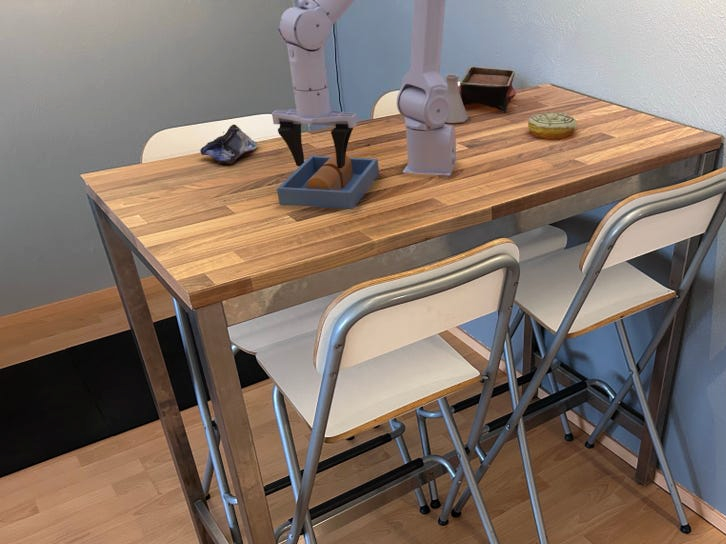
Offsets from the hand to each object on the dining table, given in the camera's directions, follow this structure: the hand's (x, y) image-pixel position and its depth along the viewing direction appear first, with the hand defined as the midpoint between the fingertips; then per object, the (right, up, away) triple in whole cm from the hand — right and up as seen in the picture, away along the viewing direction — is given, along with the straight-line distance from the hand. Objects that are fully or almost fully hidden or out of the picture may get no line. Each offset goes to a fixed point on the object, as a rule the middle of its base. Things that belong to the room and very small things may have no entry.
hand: (320, 165), depth 132 cm
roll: (+1, -1, +9) cm, 9 cm away
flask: (+22, +22, +43) cm, 53 cm away
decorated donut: (+45, +16, +34) cm, 58 cm away
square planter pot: (+30, +29, +53) cm, 67 cm away
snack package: (-23, +8, +23) cm, 34 cm away
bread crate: (+1, -3, +7) cm, 7 cm away
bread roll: (0, -5, +3) cm, 6 cm away
